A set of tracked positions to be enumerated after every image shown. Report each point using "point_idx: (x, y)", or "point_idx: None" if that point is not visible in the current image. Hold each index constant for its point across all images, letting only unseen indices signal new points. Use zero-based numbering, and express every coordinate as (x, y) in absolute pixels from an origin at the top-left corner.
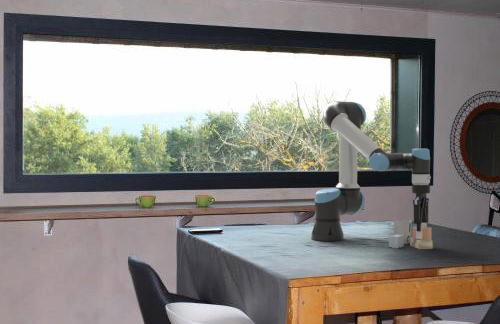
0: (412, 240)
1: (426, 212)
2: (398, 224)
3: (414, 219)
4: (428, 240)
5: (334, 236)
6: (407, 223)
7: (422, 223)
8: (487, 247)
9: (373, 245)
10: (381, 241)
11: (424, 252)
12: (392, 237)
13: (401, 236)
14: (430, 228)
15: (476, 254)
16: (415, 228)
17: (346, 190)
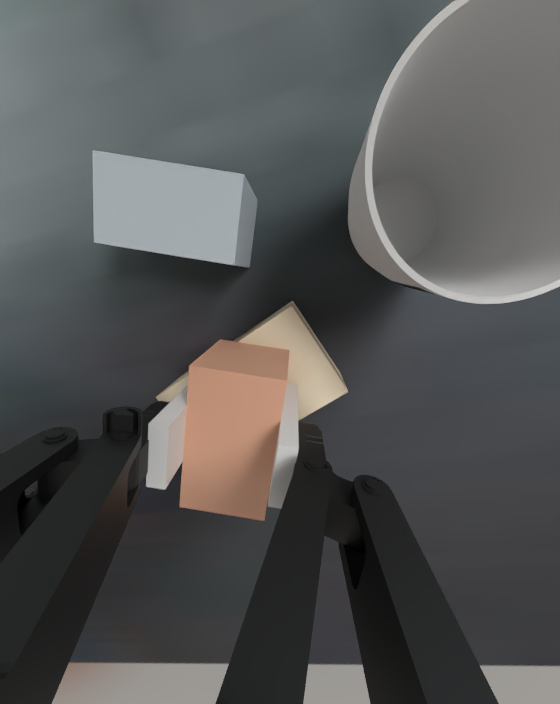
0: (254, 329)
1: (363, 647)
2: (364, 143)
3: (11, 456)
4: None
5: None
6: (393, 266)
7: (274, 468)
8: None
9: (184, 26)
10: None
11: (83, 420)
12: (98, 191)
13: (179, 256)
14: (235, 511)
15: (156, 611)
16: (189, 391)
17: None
